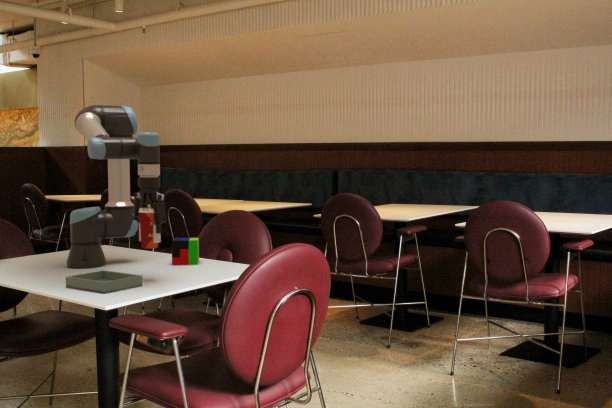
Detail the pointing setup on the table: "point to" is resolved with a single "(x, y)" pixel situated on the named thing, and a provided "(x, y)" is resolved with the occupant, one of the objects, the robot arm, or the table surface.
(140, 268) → the table surface
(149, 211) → the paper cup
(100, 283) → the tray
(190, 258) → the puzzle toy
